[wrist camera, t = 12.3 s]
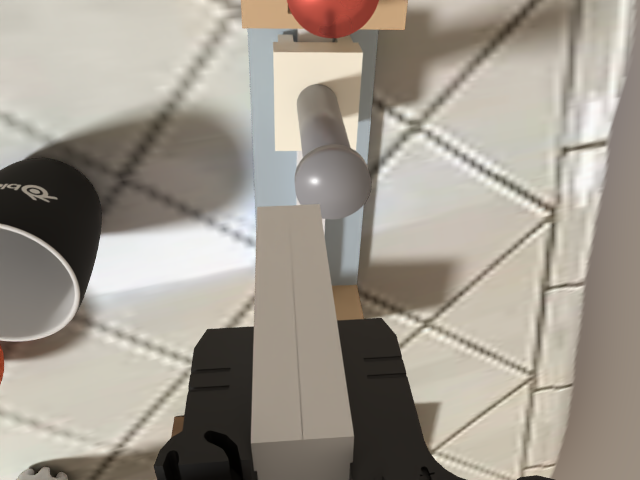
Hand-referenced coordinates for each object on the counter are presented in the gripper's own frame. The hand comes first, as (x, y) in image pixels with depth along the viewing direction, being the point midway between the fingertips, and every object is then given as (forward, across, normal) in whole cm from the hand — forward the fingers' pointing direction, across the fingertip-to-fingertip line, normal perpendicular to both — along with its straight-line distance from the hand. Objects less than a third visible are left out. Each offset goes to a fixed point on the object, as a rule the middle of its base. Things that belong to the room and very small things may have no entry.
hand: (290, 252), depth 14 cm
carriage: (+24, +2, -4) cm, 24 cm away
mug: (+25, -18, -12) cm, 34 cm away
